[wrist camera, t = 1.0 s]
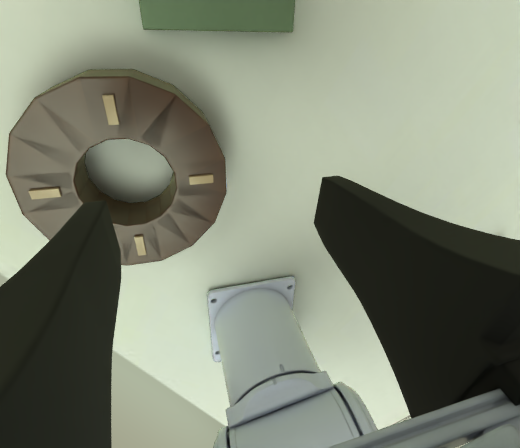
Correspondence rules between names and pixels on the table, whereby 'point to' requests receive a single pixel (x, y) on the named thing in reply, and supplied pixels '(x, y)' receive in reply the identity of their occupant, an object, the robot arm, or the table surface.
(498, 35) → the table surface
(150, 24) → the rack
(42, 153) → the clock ring
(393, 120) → the table surface
